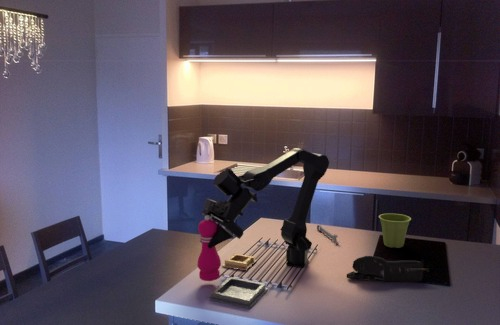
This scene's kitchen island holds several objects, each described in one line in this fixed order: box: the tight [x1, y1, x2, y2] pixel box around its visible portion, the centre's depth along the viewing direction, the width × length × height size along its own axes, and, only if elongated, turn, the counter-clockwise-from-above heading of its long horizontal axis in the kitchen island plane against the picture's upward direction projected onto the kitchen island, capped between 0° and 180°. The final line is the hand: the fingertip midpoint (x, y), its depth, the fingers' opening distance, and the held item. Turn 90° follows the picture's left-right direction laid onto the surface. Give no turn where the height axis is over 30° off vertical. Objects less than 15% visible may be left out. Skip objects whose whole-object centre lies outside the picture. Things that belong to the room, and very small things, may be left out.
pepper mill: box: [196, 215, 222, 282], centre depth 137 cm, size 7×7×20 cm
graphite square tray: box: [208, 276, 269, 310], centre depth 132 cm, size 13×13×2 cm
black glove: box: [346, 255, 430, 283], centre depth 143 cm, size 7×25×8 cm, turn 93°
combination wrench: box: [316, 224, 339, 245], centre depth 184 cm, size 4×1×20 cm
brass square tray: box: [221, 253, 258, 271], centre depth 155 cm, size 9×9×2 cm
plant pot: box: [378, 213, 412, 249], centre depth 173 cm, size 12×12×11 cm
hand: (204, 244), depth 136 cm, fingers closed on pepper mill, 5 cm apart
